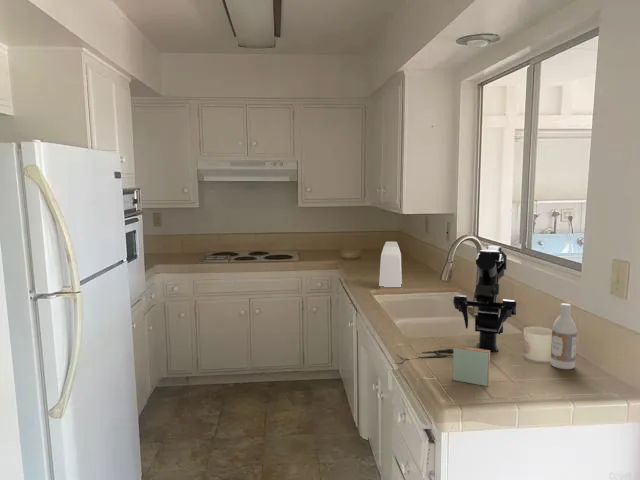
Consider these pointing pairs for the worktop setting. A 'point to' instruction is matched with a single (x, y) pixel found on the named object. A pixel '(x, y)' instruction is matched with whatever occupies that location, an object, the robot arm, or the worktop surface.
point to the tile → (471, 365)
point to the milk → (390, 266)
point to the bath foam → (564, 340)
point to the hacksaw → (434, 355)
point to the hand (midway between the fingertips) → (481, 329)
